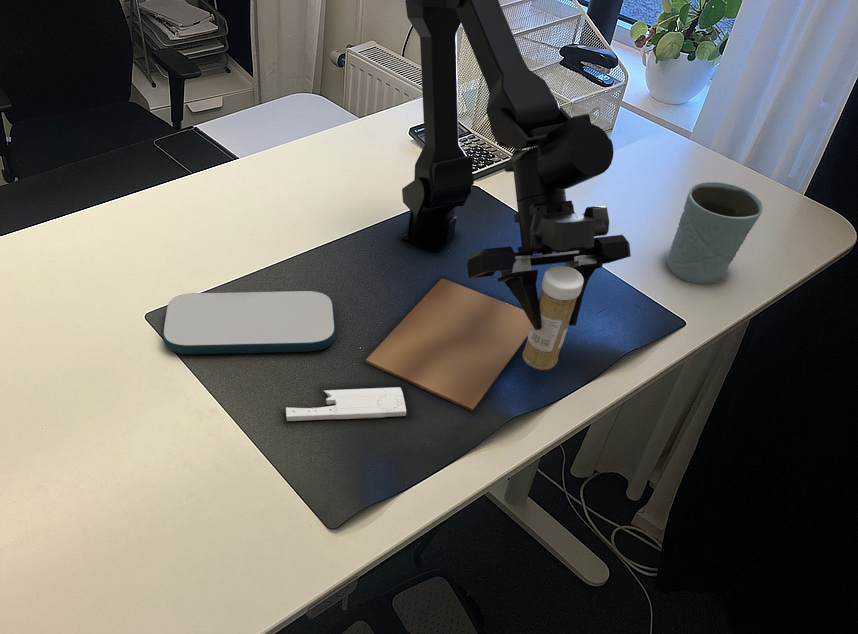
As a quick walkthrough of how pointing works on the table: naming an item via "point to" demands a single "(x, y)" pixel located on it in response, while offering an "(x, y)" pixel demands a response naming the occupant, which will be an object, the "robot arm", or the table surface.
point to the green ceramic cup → (712, 231)
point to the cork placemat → (453, 343)
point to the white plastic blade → (354, 405)
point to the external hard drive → (249, 322)
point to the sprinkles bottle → (553, 316)
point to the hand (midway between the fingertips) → (555, 327)
